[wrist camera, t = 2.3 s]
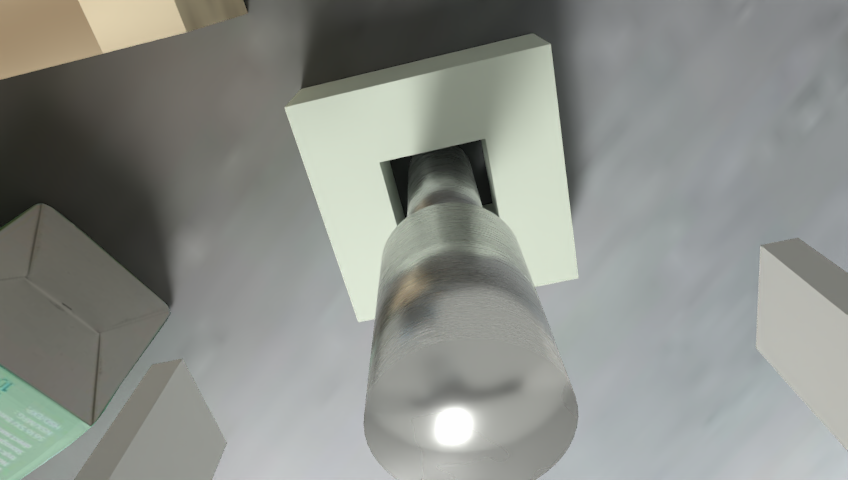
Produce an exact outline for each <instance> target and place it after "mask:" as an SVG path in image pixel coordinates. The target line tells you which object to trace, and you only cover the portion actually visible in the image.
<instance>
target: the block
mask: <svg viewBox="0 0 848 480" xmlns="http://www.w3.org/2000/svg"><path fill="white" fill-rule="evenodd" d="M247 13H248V12H247V9H246V6H245V4H244V1H243V0H0V80H1V79H5V78H9V77H13V76H17V75H21V74H25V73H29V72H32V71H36V70H40V69H44V68H48V67H52V66H56V65H60V64H64V63H68V62H72V61H76V60H80V59H83V58H87V57H91V56H95V55H99V54H103V53H107V52H111V51H115V50H119V49H123V48H127V47H131V46H135V45H138V44H142V43H146V42H150V41H154V40H158V39H162V38H166V37H170V36H174V35H178V34H182V33H186V32H189V31H192V30H195V29H199V28H202V27H205V26H208V25H212V24H215V23H218V22H221V21H225V20H228V19H231V18H234V17H238V16H241V15H244V14H247Z"/></svg>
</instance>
